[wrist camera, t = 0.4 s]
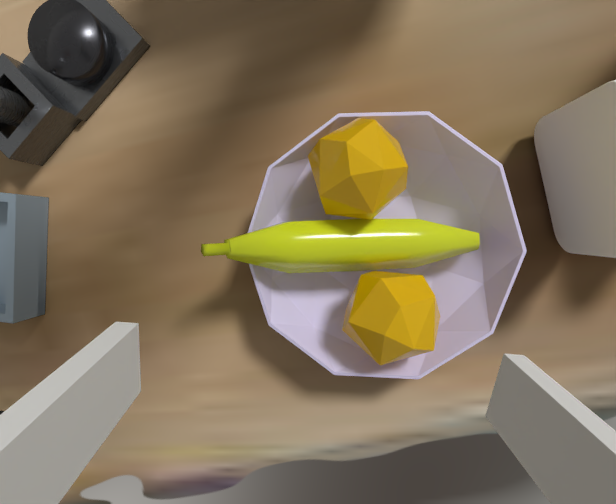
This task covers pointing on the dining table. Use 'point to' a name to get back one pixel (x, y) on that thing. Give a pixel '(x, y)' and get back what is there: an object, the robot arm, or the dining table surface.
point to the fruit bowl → (382, 244)
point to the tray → (22, 256)
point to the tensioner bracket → (65, 72)
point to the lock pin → (13, 107)
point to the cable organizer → (581, 171)
